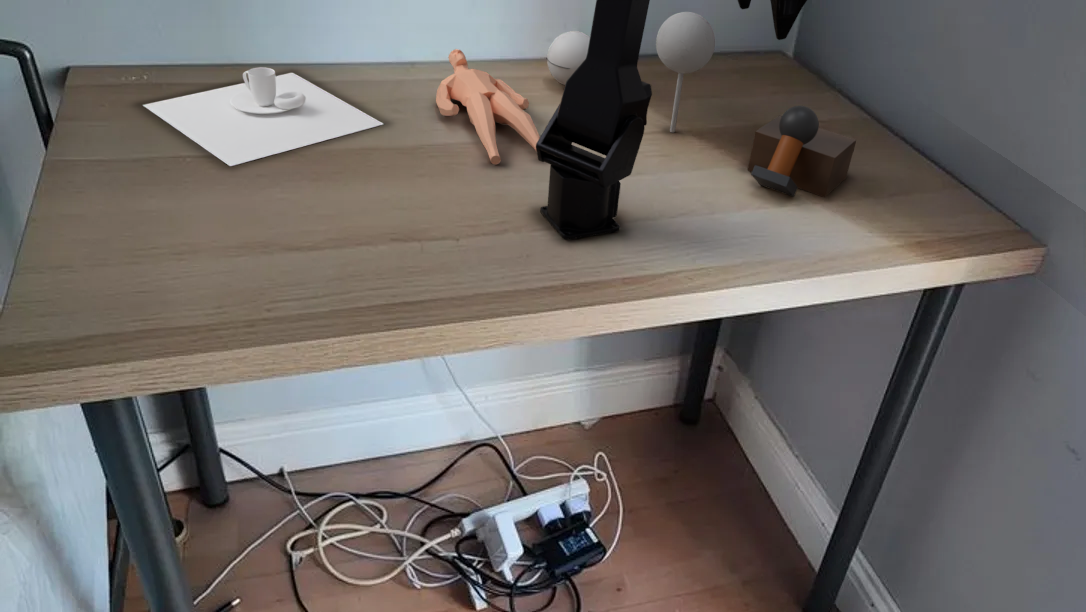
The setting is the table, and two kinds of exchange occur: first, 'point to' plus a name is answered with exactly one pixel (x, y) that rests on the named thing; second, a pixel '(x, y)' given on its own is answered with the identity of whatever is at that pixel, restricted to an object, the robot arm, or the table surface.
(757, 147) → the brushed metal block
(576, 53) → the white oval body
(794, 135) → the ball-topped stamp
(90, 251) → the table surface
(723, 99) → the table surface
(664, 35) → the lollipop
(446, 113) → the male figurine
